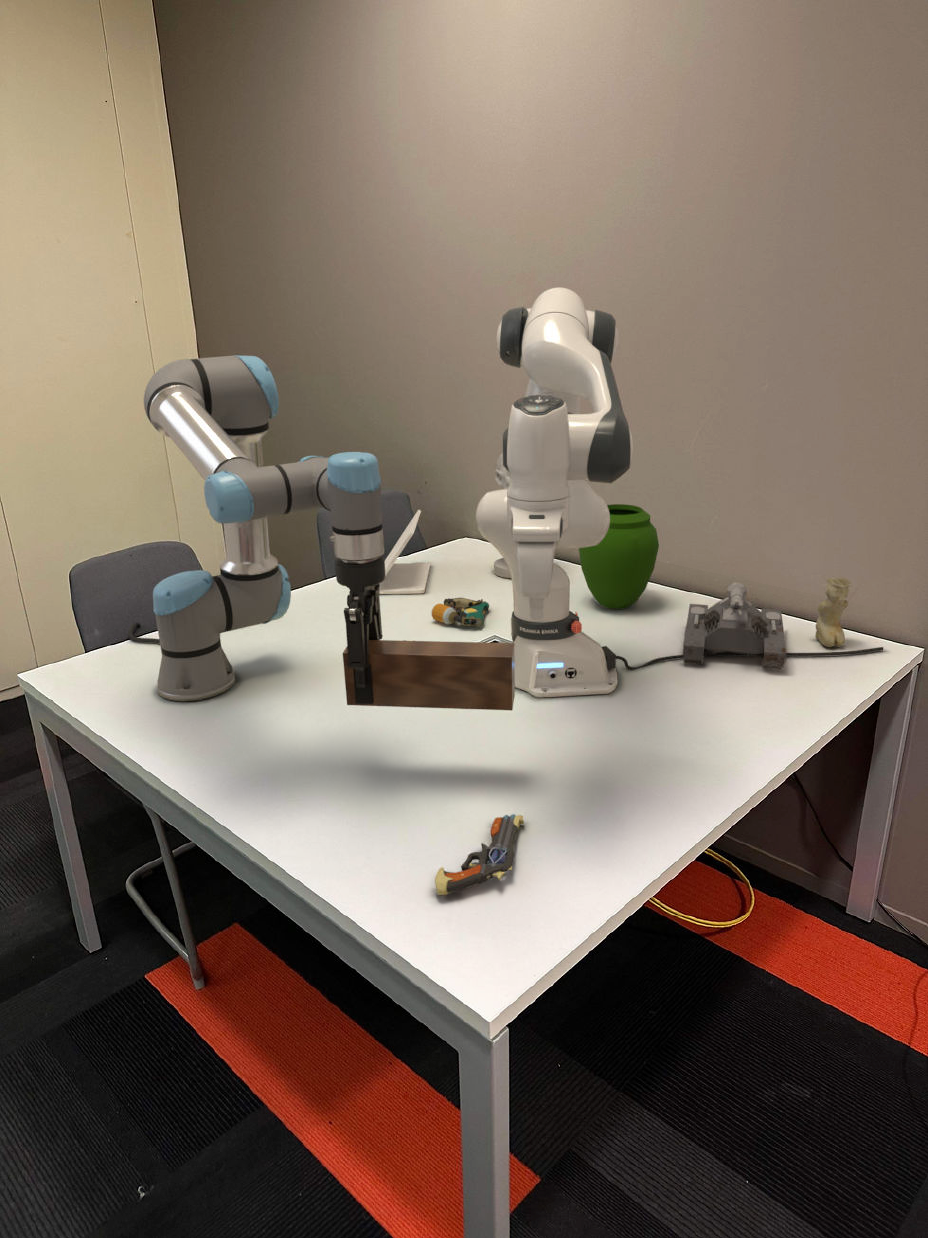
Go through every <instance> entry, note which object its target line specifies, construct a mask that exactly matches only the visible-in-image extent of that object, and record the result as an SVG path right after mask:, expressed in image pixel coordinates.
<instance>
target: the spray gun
mask: <svg viewBox="0 0 928 1238" xmlns="http://www.w3.org/2000/svg"><path fill="white" fill-rule="evenodd" d="M489 608H490V604H489V602H487V601H484V599H483V598H481V599H478V600H474V599H469V598H465V597H454V598H444V600H443V603H437V604H435V605H434V606H433V608H432V609H431V612H430V613H431V617H432V619H433V620H434V621H437V622H439V623H441V624H445V625H452V624H455V623H459V624H461V625H462V626H464V627H465V626H470V627H482V625H483V622H484V619H485V614H486V612H488V610H489Z"/></svg>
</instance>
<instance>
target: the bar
mask: <svg viewBox="0 0 928 1238" xmlns="http://www.w3.org/2000/svg"><path fill="white" fill-rule="evenodd" d="M342 661H343V673H344V684H345V695H346V696H345V698H346V705H347V706H361V707H390V708H391V707H392V708H393V707H394V708H423V709H424V708H425V709H426V708H427V709H453V710H454V709H455V710H457V709H458V710H484V711H485V710H486V711H488V710H489V711H513V709H514V702H515V696H516V687H515V650H514V643H513V642H483V641H482V642H481V641H477V642H476V641H475V642H474V641H439V640H438V641H435V640H434V641H433V640H395V639H393V640H392V639H391V640H389V639H388V640H387V639H381V640H369V665H371V673H372V687H373V704H356V700H355V687H354V674H353V669H352V668H349V667H347V664H348V649H347V646H346V647H345V649H344V650H343V652H342Z"/></svg>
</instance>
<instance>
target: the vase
mask: <svg viewBox="0 0 928 1238" xmlns="http://www.w3.org/2000/svg"><path fill="white" fill-rule="evenodd" d="M607 507H608V509H609V513H610V525H609V529H608V532H607V534H606V536H605V537H604V539H603V540H602V541H601V542H600V543H599V544H598V545H596V546H590V547H583V548H578V554H579V562H580V569H581V571H582V574H583V577H584V580H585V583H586V585H587V588H588V590H589V591H590V594H592V597H593V598H594V600H595V601H596V602H597V603H598V604H599V605H600V606H602V607H604V608H606V609H609V610H625V609H628V608H630V607H632V606H634V604H636V602H638V601H639V599H640V597H641V596H642V595H643V593H644V592H645V590H646V588H647V586H648V584H649V581H650V579H651V577H652V574H653V572H654V570H655V566H656V562H657V557H658V552H659V548H660V544H659V543H660V542H659V537H658V531H657V528H656V527H655V526H654V524H653V523H652V522H651V515H650V514H649V512H647V511H645V510H644V509H643V508H642V507H641V506H638V505H633V504H622V503H621V504H619V503H616V504H615V503H614V504H607Z"/></svg>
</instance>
